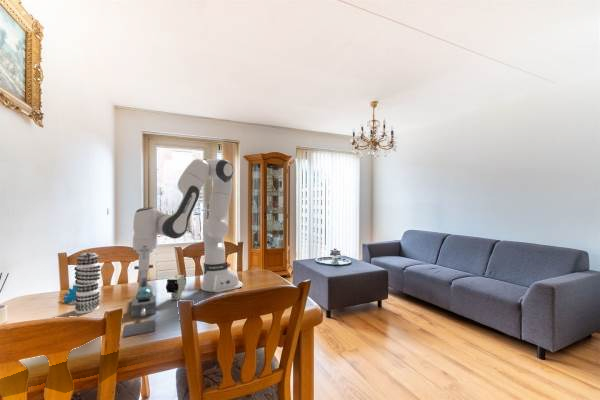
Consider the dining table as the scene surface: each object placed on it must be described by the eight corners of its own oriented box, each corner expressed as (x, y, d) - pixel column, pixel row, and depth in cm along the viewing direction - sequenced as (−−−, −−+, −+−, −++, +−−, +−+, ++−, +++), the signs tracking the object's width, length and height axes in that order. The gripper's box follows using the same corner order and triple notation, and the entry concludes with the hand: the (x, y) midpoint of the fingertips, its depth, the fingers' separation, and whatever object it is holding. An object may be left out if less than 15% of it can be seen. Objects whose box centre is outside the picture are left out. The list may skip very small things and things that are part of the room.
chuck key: (152, 283, 122) (153, 259, 122) (152, 285, 119) (153, 260, 119) (134, 285, 118) (134, 260, 119) (133, 287, 116) (134, 262, 116)
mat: (154, 320, 110) (154, 319, 110) (154, 331, 102) (154, 330, 102) (125, 326, 106) (125, 325, 106) (122, 337, 97) (122, 336, 97)
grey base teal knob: (154, 296, 137) (155, 282, 137) (155, 319, 112) (156, 302, 112) (134, 299, 133) (134, 285, 133) (130, 323, 108) (130, 306, 108)
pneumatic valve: (165, 303, 129) (165, 278, 129) (177, 294, 140) (177, 271, 140) (176, 303, 129) (177, 278, 129) (187, 295, 140) (188, 271, 140)
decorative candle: (84, 315, 115) (85, 255, 115) (68, 312, 118) (69, 254, 118) (105, 306, 124) (105, 251, 124) (89, 304, 126) (90, 250, 126)
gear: (58, 297, 130) (77, 279, 136) (68, 303, 134) (86, 285, 140) (69, 305, 125) (88, 286, 130) (79, 311, 129) (97, 292, 134)
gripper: (153, 247, 111) (152, 281, 111) (152, 241, 129) (152, 270, 129) (135, 248, 108) (134, 283, 108) (137, 241, 126) (136, 271, 126)
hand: (143, 276), depth 119 cm, fingers closed on chuck key, 3 cm apart
